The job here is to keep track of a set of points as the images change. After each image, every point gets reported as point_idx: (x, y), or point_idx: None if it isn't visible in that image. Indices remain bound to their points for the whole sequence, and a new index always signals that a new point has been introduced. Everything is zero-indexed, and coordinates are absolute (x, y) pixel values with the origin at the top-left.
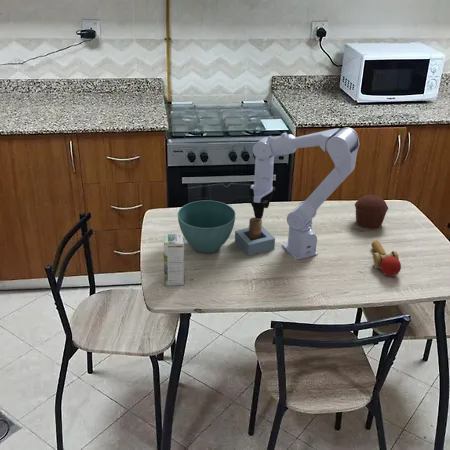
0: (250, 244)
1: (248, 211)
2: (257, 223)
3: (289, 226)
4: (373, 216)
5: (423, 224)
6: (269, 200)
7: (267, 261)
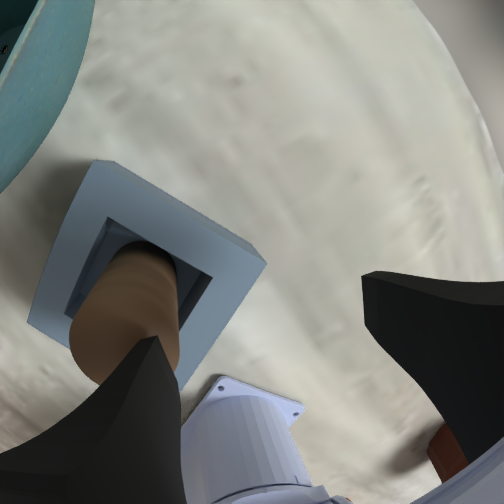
0: (36, 328)
1: (418, 85)
2: (95, 380)
3: (226, 491)
4: (441, 478)
5: None
6: (413, 376)
7: (79, 378)
